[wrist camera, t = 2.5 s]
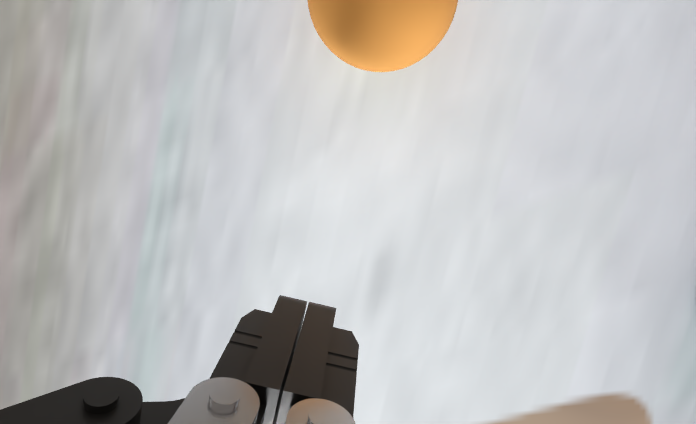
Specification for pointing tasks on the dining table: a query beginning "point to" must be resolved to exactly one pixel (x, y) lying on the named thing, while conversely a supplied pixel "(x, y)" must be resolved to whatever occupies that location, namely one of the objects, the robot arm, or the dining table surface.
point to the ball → (381, 30)
